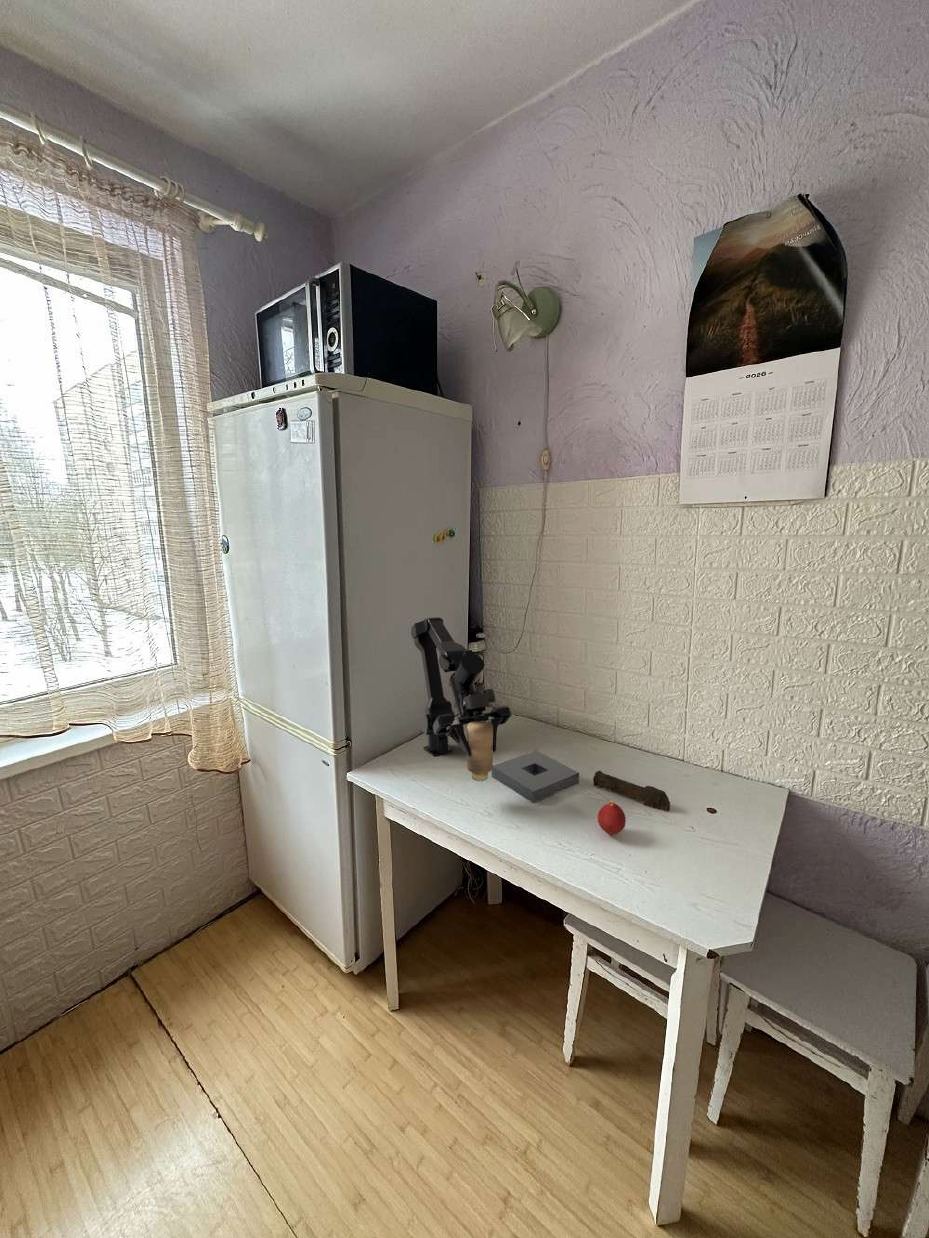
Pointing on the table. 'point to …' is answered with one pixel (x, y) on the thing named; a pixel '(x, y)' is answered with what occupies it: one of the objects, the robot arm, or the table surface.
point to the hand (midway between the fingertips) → (482, 753)
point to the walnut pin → (480, 749)
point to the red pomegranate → (611, 818)
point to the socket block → (543, 784)
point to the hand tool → (633, 791)
